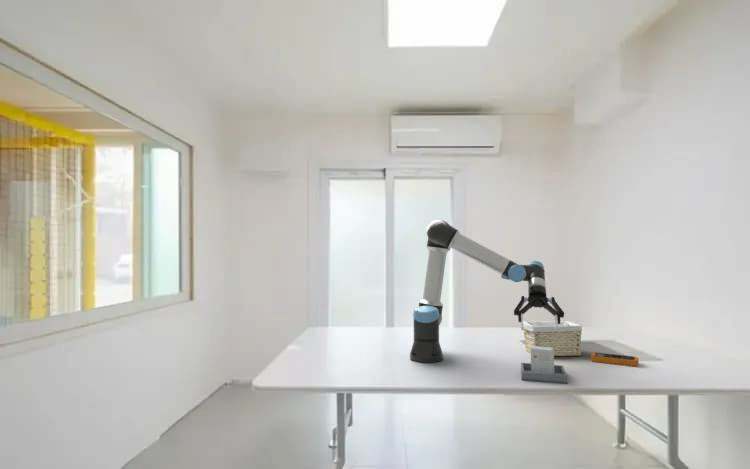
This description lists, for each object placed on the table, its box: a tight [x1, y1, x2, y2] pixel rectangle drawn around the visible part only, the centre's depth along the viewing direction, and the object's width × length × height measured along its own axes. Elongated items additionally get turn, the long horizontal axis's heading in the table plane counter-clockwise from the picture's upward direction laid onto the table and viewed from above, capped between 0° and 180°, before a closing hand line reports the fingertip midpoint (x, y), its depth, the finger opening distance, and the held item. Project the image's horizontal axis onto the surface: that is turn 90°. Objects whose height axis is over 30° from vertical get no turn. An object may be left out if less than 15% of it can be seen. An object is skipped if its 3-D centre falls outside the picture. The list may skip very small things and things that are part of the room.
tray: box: [520, 362, 569, 385], centre depth 169 cm, size 16×15×3 cm
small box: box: [530, 346, 555, 374], centre depth 170 cm, size 8×6×10 cm
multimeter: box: [590, 351, 640, 368], centre depth 191 cm, size 9×18×3 cm, turn 56°
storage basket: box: [522, 320, 583, 357], centre depth 210 cm, size 24×16×15 cm
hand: (539, 328), depth 180 cm, fingers open, 13 cm apart
